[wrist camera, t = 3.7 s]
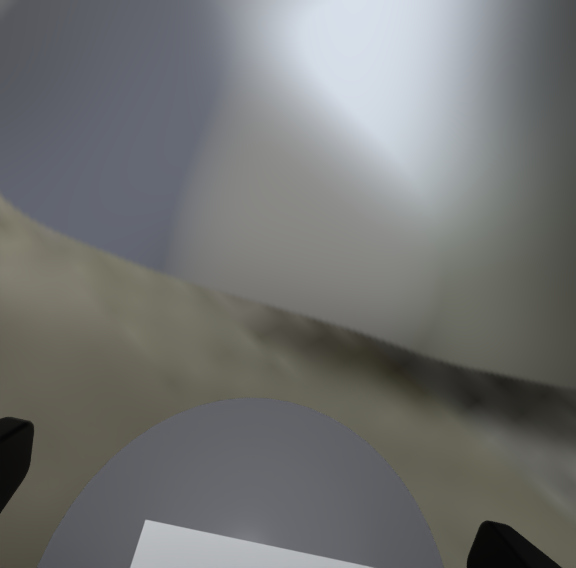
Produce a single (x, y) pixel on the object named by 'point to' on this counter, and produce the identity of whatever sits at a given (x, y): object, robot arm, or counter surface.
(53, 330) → the counter surface
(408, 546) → the white-capped grey cylinder
